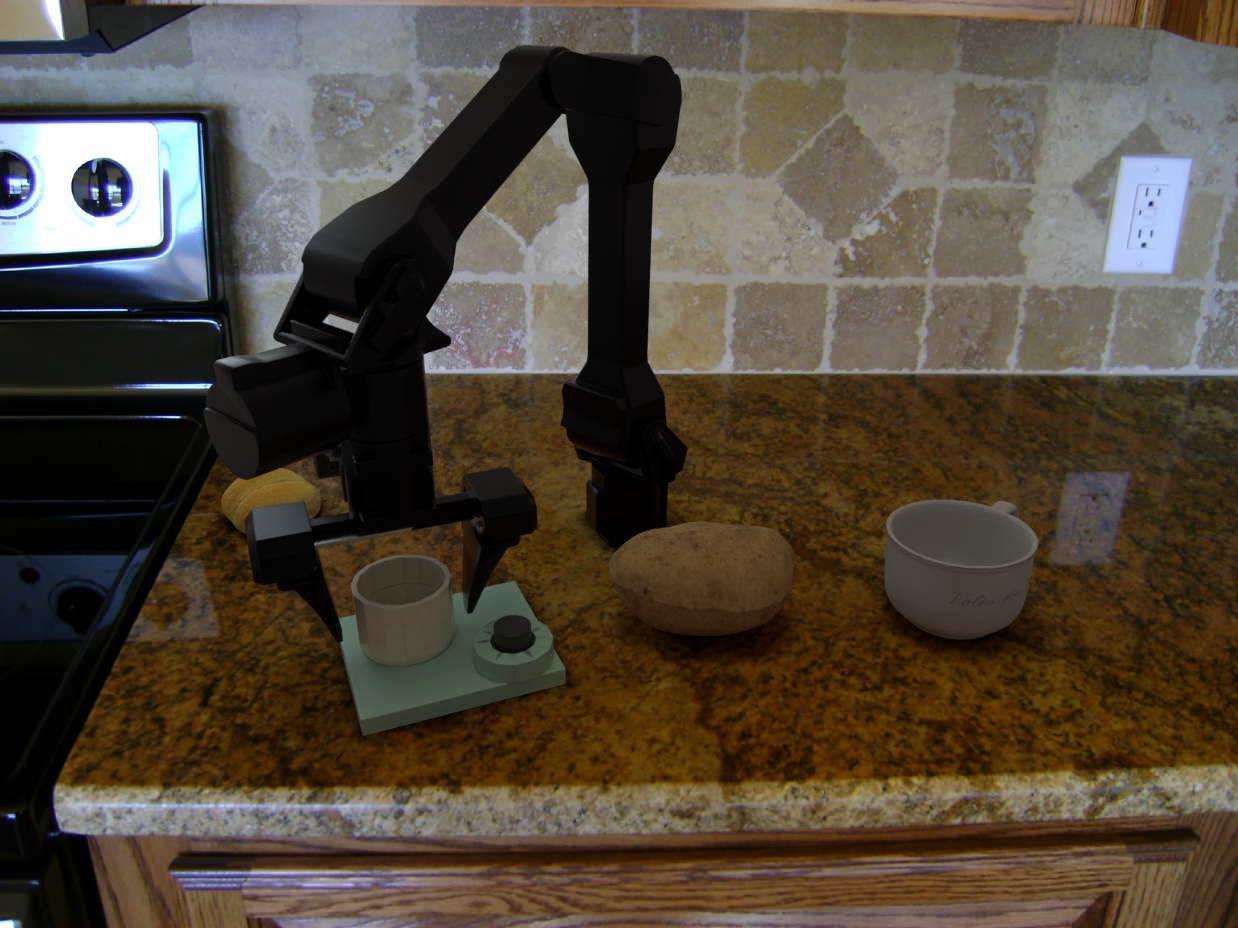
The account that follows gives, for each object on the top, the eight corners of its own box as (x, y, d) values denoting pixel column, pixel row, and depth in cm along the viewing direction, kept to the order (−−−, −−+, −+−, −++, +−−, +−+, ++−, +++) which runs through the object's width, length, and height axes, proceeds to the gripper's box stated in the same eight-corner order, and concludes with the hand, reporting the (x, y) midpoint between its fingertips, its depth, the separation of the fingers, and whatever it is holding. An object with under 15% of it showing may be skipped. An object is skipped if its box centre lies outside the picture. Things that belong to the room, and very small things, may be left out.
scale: (515, 595, 75) (514, 563, 74) (567, 686, 65) (566, 651, 64) (337, 633, 70) (332, 600, 69) (363, 739, 60) (358, 702, 59)
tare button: (525, 629, 67) (524, 611, 66) (536, 649, 65) (536, 631, 64) (490, 637, 66) (489, 619, 65) (500, 658, 64) (499, 639, 63)
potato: (605, 590, 76) (606, 504, 73) (775, 586, 77) (784, 501, 73) (611, 665, 67) (612, 571, 64) (803, 660, 68) (814, 567, 65)
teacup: (953, 675, 67) (973, 581, 63) (844, 602, 75) (857, 514, 71) (1072, 617, 73) (1096, 529, 70) (960, 555, 82) (977, 473, 78)
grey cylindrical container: (442, 603, 72) (438, 547, 70) (465, 654, 66) (460, 595, 64) (352, 622, 69) (344, 565, 67) (367, 677, 64) (359, 616, 61)
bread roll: (250, 549, 81) (243, 509, 79) (214, 511, 87) (206, 472, 85) (339, 519, 86) (334, 481, 84) (299, 485, 92) (293, 448, 90)
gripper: (490, 367, 70) (499, 546, 77) (224, 401, 64) (260, 593, 70) (537, 422, 61) (542, 619, 68) (232, 468, 54) (272, 681, 61)
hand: (405, 624), depth 67 cm, fingers open, 9 cm apart
